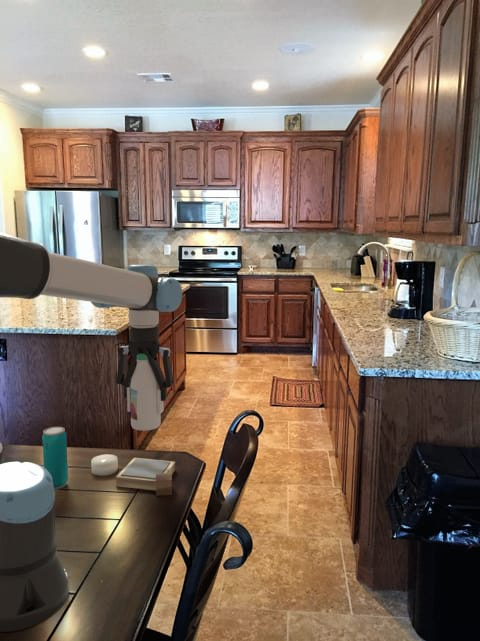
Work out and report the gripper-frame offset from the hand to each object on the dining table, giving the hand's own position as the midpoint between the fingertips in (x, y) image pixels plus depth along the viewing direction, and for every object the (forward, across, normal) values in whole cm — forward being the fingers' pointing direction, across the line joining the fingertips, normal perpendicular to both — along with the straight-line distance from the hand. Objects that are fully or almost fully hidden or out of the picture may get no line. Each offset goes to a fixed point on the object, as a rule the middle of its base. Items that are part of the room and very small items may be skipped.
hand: (145, 411), depth 130 cm
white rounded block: (+19, +13, -2) cm, 23 cm away
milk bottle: (+4, 0, 0) cm, 4 cm away
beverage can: (+19, +21, +9) cm, 30 cm away
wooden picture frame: (+19, 0, 0) cm, 19 cm away
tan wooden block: (+19, -7, +6) cm, 21 cm away
